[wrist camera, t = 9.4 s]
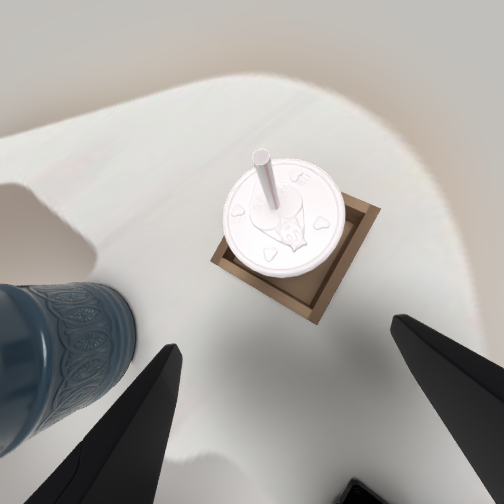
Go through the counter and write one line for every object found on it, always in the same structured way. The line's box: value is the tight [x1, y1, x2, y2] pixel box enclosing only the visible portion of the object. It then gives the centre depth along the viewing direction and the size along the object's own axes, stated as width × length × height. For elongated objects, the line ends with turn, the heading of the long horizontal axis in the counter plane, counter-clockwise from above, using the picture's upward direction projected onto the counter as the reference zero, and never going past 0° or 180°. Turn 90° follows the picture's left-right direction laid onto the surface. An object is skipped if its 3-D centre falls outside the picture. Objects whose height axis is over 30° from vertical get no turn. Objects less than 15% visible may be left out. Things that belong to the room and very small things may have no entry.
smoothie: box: [222, 149, 345, 278], centre depth 13 cm, size 6×6×14 cm
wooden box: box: [210, 192, 381, 325], centre depth 19 cm, size 10×10×4 cm
